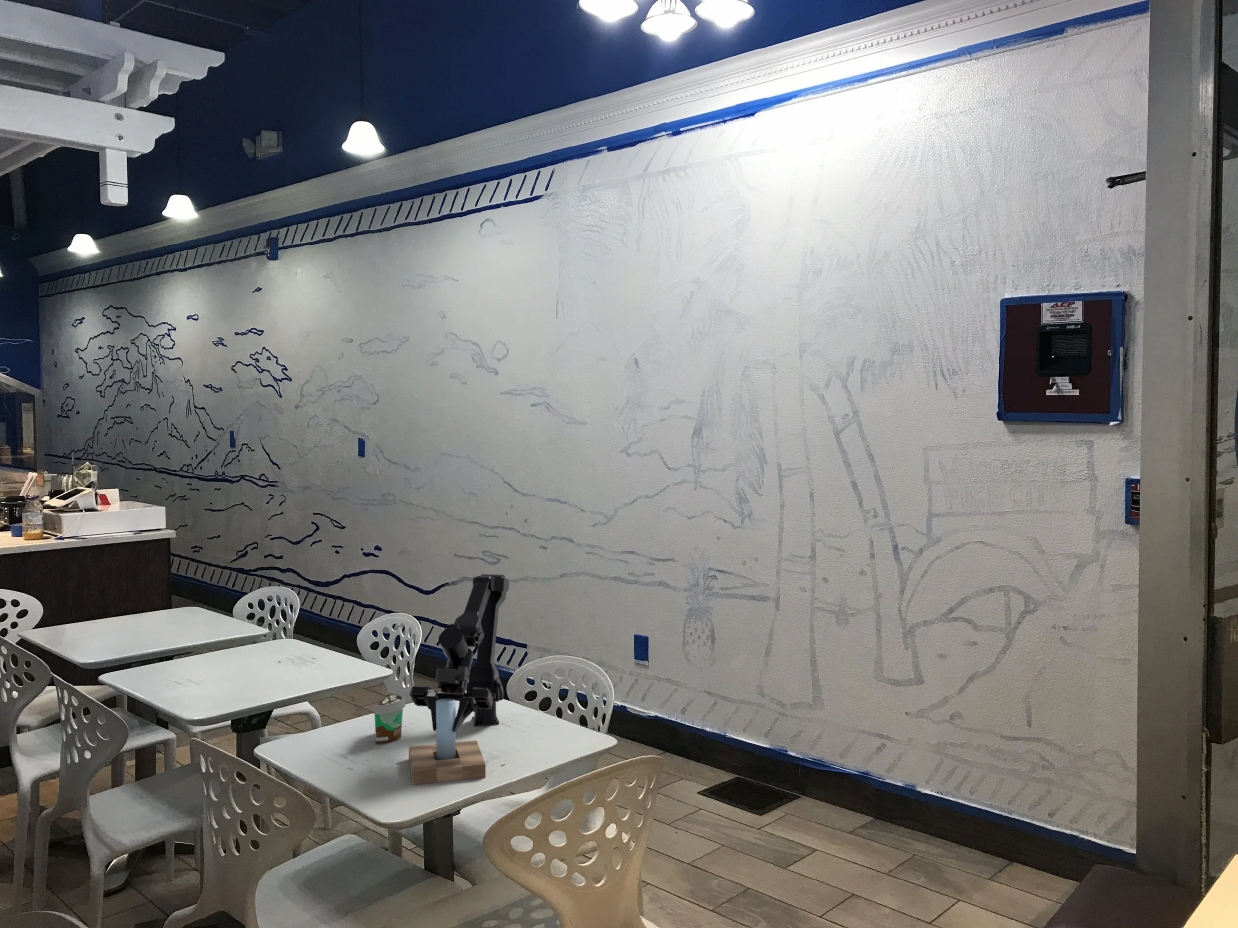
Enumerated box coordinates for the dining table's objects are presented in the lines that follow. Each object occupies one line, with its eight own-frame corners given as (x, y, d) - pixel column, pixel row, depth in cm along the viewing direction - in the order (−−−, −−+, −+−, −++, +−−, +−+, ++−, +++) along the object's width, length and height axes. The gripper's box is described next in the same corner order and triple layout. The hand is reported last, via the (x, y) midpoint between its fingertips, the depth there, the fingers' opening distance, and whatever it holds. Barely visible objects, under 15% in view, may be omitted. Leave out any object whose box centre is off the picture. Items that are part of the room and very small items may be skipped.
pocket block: (408, 758, 228) (408, 746, 228) (476, 752, 232) (476, 740, 232) (413, 784, 212) (412, 770, 212) (485, 776, 217) (485, 763, 217)
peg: (435, 758, 224) (435, 699, 223) (454, 756, 225) (454, 697, 224) (437, 765, 220) (436, 704, 219) (456, 763, 221) (456, 703, 220)
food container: (399, 746, 236) (398, 706, 236) (374, 746, 236) (373, 705, 236) (411, 729, 249) (410, 691, 248) (387, 729, 249) (386, 691, 248)
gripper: (411, 651, 226) (395, 712, 216) (489, 654, 223) (476, 716, 213) (423, 674, 234) (408, 734, 224) (498, 677, 232) (486, 738, 221)
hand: (444, 730), depth 220 cm, fingers closed on peg, 4 cm apart
